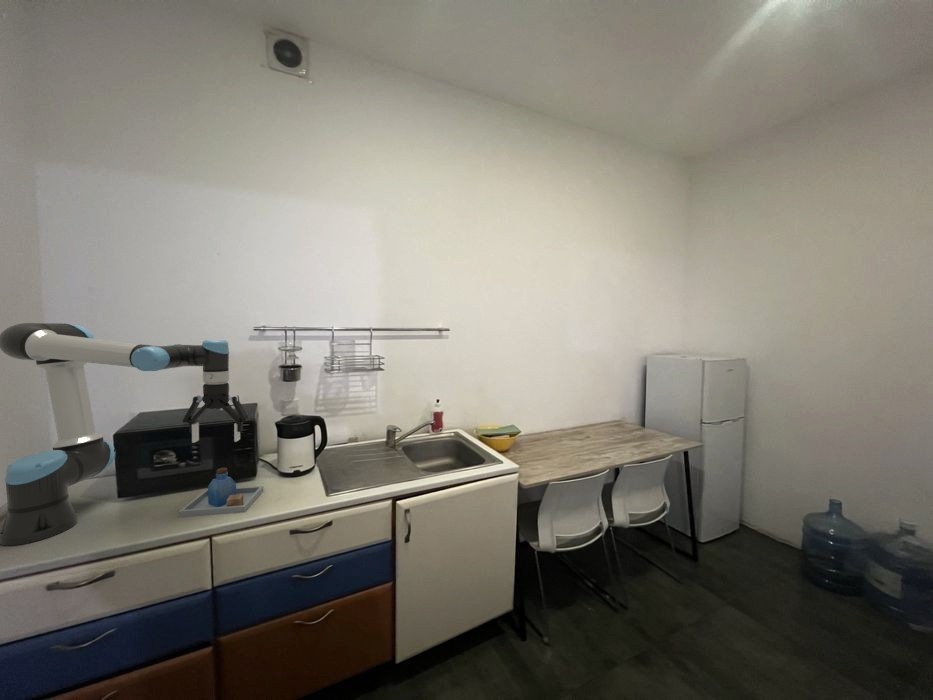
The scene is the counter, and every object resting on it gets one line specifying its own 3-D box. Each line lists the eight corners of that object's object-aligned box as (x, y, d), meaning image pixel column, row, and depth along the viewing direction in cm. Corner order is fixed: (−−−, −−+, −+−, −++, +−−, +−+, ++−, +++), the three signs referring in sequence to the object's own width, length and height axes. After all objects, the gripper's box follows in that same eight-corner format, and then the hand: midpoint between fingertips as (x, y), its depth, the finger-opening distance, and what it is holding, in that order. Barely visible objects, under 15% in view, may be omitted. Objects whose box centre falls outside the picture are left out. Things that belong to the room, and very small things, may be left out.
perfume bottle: (227, 496, 128) (226, 464, 127) (236, 500, 125) (235, 468, 124) (208, 503, 122) (207, 470, 122) (217, 507, 119) (216, 474, 119)
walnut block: (226, 511, 117) (226, 500, 117) (230, 506, 121) (230, 495, 120) (240, 509, 118) (240, 498, 118) (243, 504, 122) (243, 493, 122)
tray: (178, 518, 113) (178, 511, 113) (205, 496, 129) (205, 489, 129) (244, 513, 117) (244, 506, 117) (263, 492, 133) (263, 485, 133)
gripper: (169, 384, 116) (170, 445, 117) (249, 384, 121) (249, 443, 122) (183, 381, 124) (184, 438, 125) (258, 381, 128) (258, 436, 129)
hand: (216, 441), depth 123 cm, fingers open, 13 cm apart
